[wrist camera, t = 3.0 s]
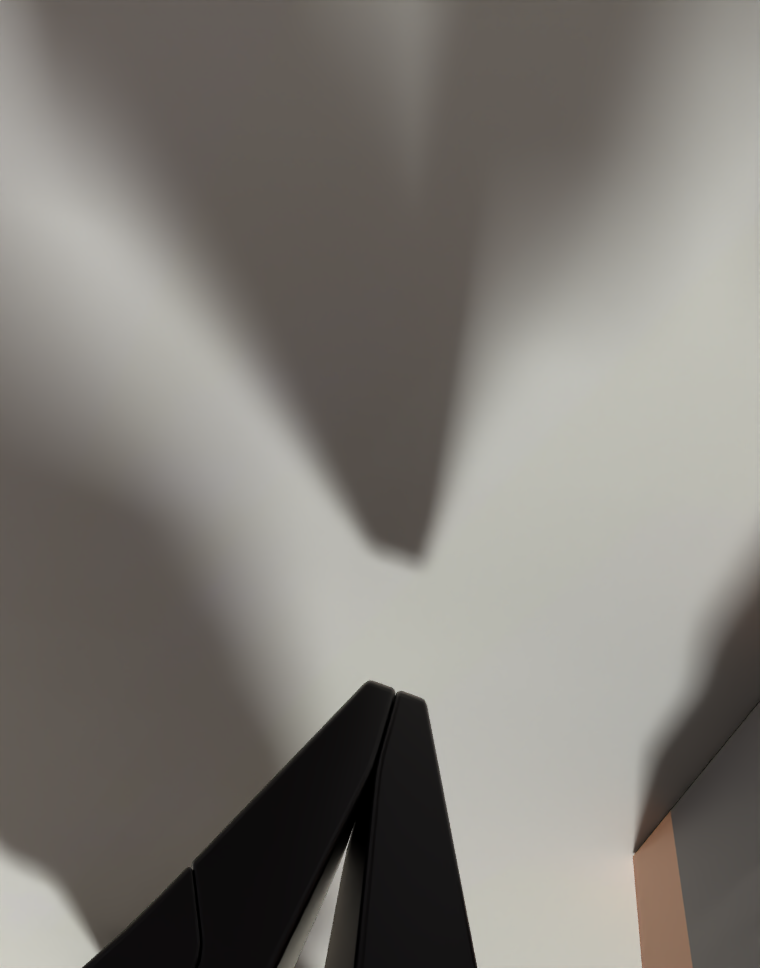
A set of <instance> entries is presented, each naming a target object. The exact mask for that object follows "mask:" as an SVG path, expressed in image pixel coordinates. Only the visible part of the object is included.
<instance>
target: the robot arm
mask: <svg viewBox="0 0 760 968" xmlns="http://www.w3.org/2000/svg"><path fill="white" fill-rule="evenodd" d="M352 829H353V830H352ZM351 832H352V833H351ZM350 835H351V837H350ZM349 838H350V840H349ZM348 840H349V844H348V848H347V852H346V857H345V861H344V866H343V871H342V876H341V882H340V887H339V892H338V898H337V903H336V909H335V914H334V919H333V925H332V930H331V935H330V941H329V946H328V952H327V957H326V962H325V968H477V963H476V958H475V953H474V948H473V943H472V937H471V932H470V927H469V922H468V917H467V911H466V906H465V901H464V896H463V891H462V885H461V880H460V875H459V870H458V865H457V859H456V854H455V849H454V844H453V839H452V833H451V828H450V823H449V818H448V812H447V807H446V802H445V797H444V792H443V786H442V781H441V776H440V771H439V766H438V760H437V755H436V750H435V745H434V740H433V734H432V729H431V724H430V719H429V714H428V708H427V705H426V702H425V700H424V699H422V698H420V697H417V696H414V695H412V694H409V693H406V692H403V691H399V692H397V693H396V695H395V690H394V689H393V688H392V687H389V686H386V685H383V684H380V683H378V682H375V681H367V682H366V683H364V684H363V685H362V686H361V687H360V688H359V689H358V690H357V692H356V693H355V694H354V695H353V696H352V697H351V698H350V699H349V700H348V701H347V702H346V703H345V704H344V705H343V706H342V707H341V708H340V709H339V710H338V711H337V712H336V713H335V714H334V715H333V716H332V718H331V719H330V720H329V721H328V722H327V723H326V724H325V725H324V726H323V727H322V728H321V729H320V730H319V731H318V732H317V733H316V734H315V735H314V736H313V737H312V738H311V739H310V740H309V741H308V742H307V744H306V745H305V746H304V747H303V748H302V749H301V750H300V751H299V752H298V753H297V754H296V755H295V756H294V757H293V758H292V759H291V760H290V761H289V762H288V763H287V764H286V765H285V766H284V767H283V769H282V770H281V771H280V772H279V773H278V774H277V775H276V776H275V777H274V778H273V779H272V780H271V781H270V782H269V783H268V784H267V785H266V786H265V787H264V788H263V789H262V790H261V791H260V792H259V793H258V795H257V796H256V797H255V798H254V799H253V800H252V801H251V802H250V803H249V804H248V805H247V806H246V807H245V808H244V809H243V810H242V811H241V812H240V813H239V814H238V815H237V816H236V817H235V818H234V819H233V821H232V822H231V823H230V824H229V825H228V826H227V827H226V828H225V829H224V830H223V831H222V832H221V833H220V834H219V835H218V836H217V837H216V838H215V839H214V840H213V841H212V842H211V843H210V844H209V845H208V847H207V848H206V849H205V850H204V851H203V852H202V853H201V854H200V855H199V856H198V857H197V858H196V859H195V860H194V861H193V863H192V868H190V867H188V868H186V869H185V870H184V871H183V872H182V873H181V874H180V875H179V876H178V877H177V878H176V879H175V880H174V881H173V882H172V883H171V884H170V886H169V887H168V888H167V889H166V890H165V891H164V892H163V893H162V894H161V895H160V896H159V897H158V898H157V899H156V900H155V901H154V902H153V903H152V904H151V905H150V906H149V907H148V908H147V909H145V910H144V911H143V912H142V913H141V914H140V915H139V916H138V917H137V918H136V919H135V920H134V921H133V922H132V923H131V924H130V925H129V926H128V927H127V928H126V929H125V930H124V931H123V932H122V933H121V934H120V935H118V936H117V937H116V938H115V939H114V940H113V941H112V942H111V943H109V944H108V945H107V946H106V947H105V948H104V949H103V950H102V951H100V952H99V953H98V954H97V955H96V956H95V957H94V958H93V959H91V960H90V961H89V962H88V963H87V964H86V965H85V966H83V967H82V968H294V967H295V964H296V962H297V960H298V957H299V955H300V953H301V951H302V948H303V946H304V944H305V942H306V939H307V937H308V935H309V932H310V930H311V928H312V926H313V923H314V921H315V919H316V916H317V914H318V912H319V910H320V907H321V905H322V903H323V900H324V898H325V896H326V894H327V891H328V889H329V887H330V884H331V882H332V880H333V878H334V875H335V873H336V871H337V869H338V866H339V864H340V861H341V859H342V856H343V854H344V851H345V849H346V846H347V843H348Z"/></svg>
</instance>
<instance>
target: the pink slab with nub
mask: <svg viewBox="0 0 760 968" xmlns="http://www.w3.org/2000/svg"><path fill="white" fill-rule="evenodd" d="M633 864H634V876H635V888H636V899H637V911H638V923H639V935H640V947H641V958H642V968H760V702H759V703H758V704H757V706H756V707H755V708H754V709H753V711H752V712H751V713H750V714H749V715H748V717H747V718H746V719H745V720H744V722H743V723H742V724H741V725H740V726H739V728H738V729H737V730H736V731H735V733H734V734H733V735H732V736H731V737H730V739H729V740H728V741H727V742H726V743H725V745H724V746H723V747H722V748H721V750H720V751H719V752H718V753H717V754H716V756H715V757H714V758H713V759H712V761H711V762H710V763H709V764H708V765H707V767H706V768H705V769H704V770H703V772H702V773H701V774H700V775H699V776H698V778H697V779H696V780H695V781H694V783H693V784H692V785H691V786H690V787H689V789H688V790H687V791H686V792H685V794H684V795H683V796H682V797H681V798H680V800H679V801H678V802H677V803H676V805H675V806H674V807H673V808H672V809H671V811H670V812H669V813H668V814H667V816H666V817H665V818H664V819H663V820H662V822H661V823H660V824H659V825H658V826H657V828H656V829H655V830H654V831H653V833H652V834H651V835H650V836H649V837H648V839H647V840H646V841H645V842H644V844H643V845H642V846H641V847H640V848H639V850H638V851H637V852H636V853H635V855H634V856H633Z"/></svg>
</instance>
